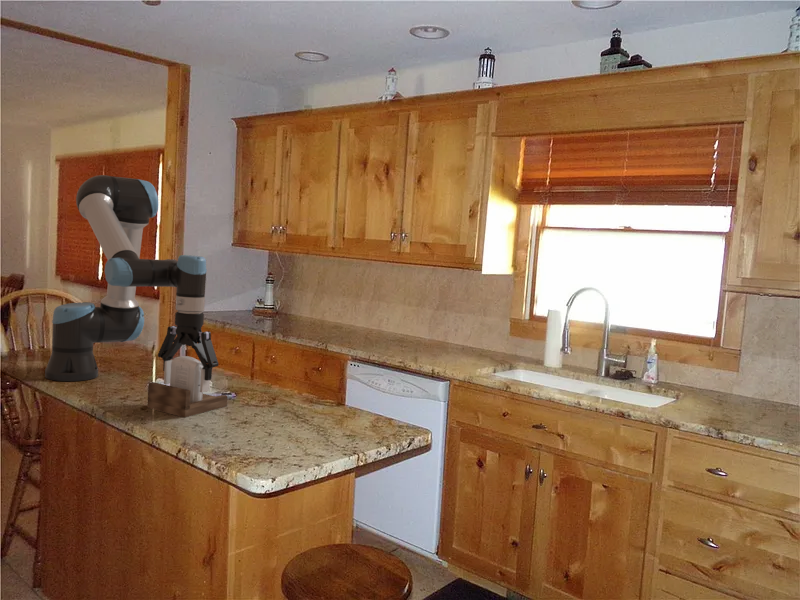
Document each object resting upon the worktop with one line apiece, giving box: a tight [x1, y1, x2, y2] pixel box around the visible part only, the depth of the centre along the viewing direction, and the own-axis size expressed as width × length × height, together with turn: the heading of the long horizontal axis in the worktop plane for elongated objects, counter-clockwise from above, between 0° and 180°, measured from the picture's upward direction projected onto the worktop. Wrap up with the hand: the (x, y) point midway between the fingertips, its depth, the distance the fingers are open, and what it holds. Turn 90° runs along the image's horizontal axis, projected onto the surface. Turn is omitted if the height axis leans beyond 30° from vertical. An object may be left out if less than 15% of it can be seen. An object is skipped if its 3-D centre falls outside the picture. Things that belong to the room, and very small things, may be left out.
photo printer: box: [169, 355, 204, 403], centre depth 180 cm, size 10×4×12 cm, turn 60°
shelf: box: [146, 381, 228, 418], centre depth 181 cm, size 14×16×7 cm
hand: (186, 387), depth 180 cm, fingers open, 13 cm apart
